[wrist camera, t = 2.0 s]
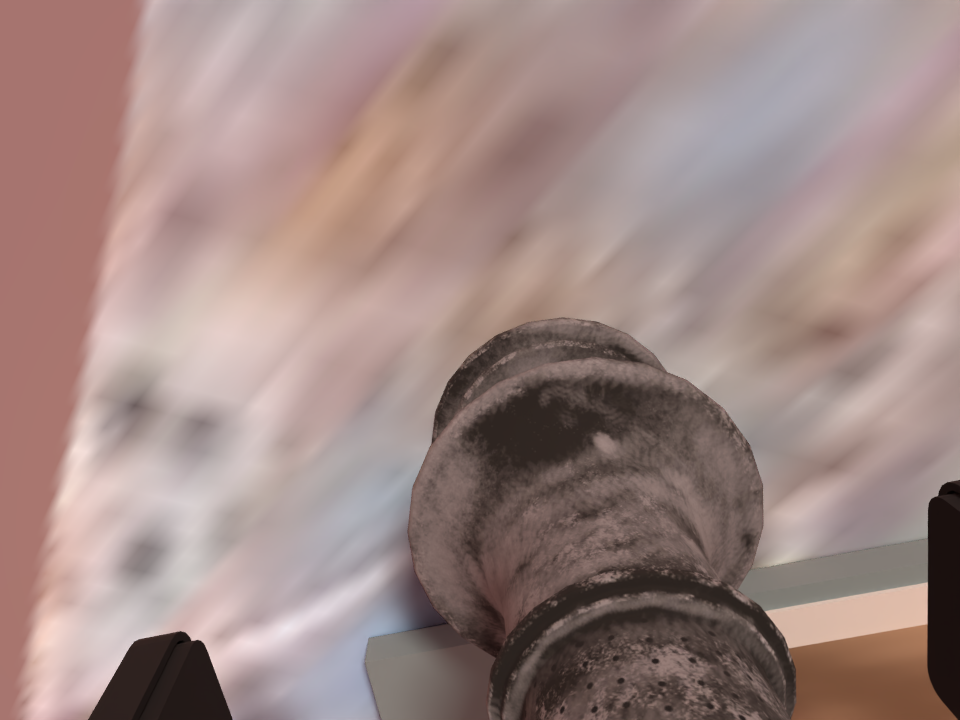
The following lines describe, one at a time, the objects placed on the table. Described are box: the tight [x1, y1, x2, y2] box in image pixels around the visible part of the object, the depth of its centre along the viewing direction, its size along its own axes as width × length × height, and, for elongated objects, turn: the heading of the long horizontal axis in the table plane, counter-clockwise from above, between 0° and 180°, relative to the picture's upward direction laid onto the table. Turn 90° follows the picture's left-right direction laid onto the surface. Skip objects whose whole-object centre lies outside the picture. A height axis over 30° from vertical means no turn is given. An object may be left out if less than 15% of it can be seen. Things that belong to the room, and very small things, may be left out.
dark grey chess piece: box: [408, 318, 796, 720], centre depth 10 cm, size 6×6×12 cm
